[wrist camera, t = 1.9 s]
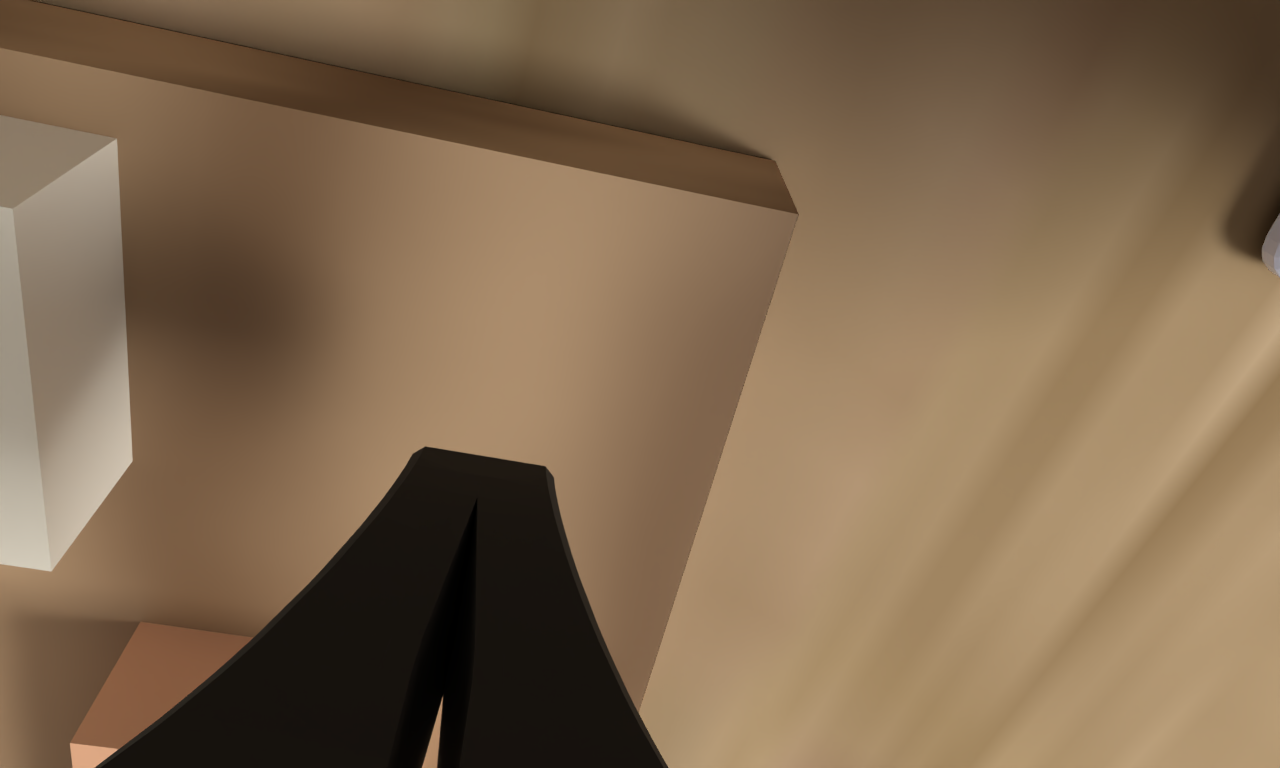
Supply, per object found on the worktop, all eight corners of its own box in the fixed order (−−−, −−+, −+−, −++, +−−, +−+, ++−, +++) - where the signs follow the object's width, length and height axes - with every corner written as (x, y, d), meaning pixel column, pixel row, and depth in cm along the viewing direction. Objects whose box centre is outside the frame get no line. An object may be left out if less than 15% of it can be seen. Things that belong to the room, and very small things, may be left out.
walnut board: (775, 160, 13) (798, 213, 12) (556, 892, 22) (550, 986, 20) (-274, -65, 12) (-429, -41, 10) (-71, 821, 20) (-136, 917, 18)
